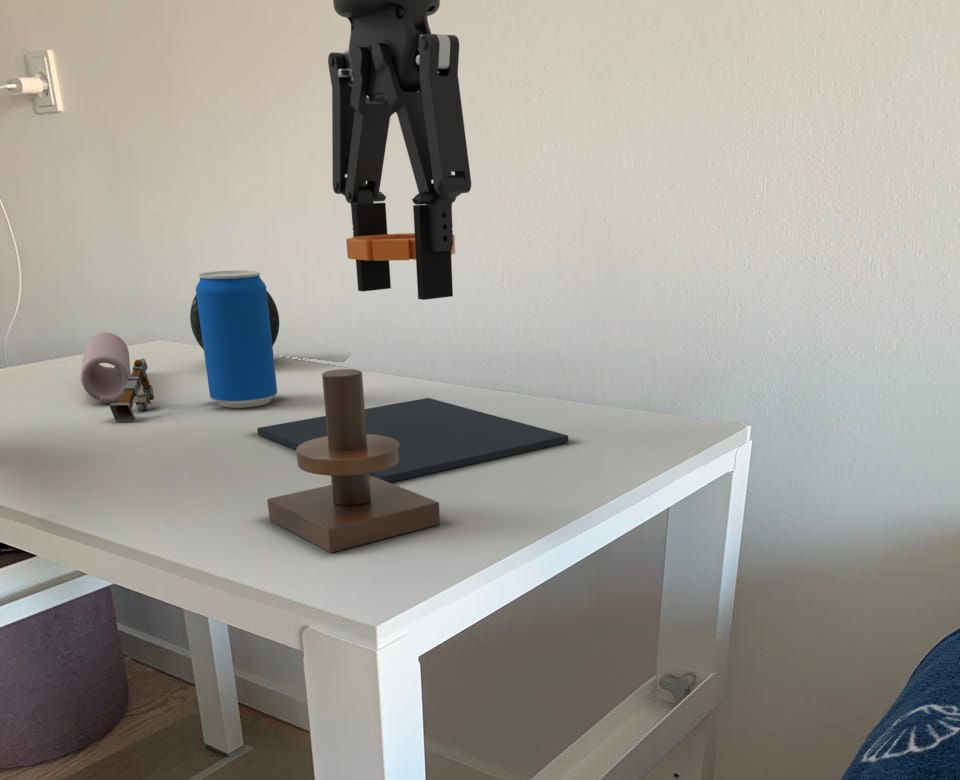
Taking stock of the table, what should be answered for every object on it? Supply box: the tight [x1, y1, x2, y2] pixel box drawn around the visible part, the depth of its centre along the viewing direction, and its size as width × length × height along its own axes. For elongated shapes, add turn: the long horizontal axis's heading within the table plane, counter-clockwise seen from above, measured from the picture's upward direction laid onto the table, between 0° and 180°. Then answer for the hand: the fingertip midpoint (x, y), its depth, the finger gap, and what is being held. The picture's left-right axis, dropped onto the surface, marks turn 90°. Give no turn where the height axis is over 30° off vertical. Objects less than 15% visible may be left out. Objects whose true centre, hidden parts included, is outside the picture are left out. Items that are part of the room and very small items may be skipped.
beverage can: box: [195, 269, 278, 409], centre depth 96 cm, size 6×6×12 cm
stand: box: [267, 368, 441, 554], centre depth 62 cm, size 8×8×10 cm
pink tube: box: [80, 331, 132, 405], centre depth 106 cm, size 5×5×18 cm
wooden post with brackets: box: [108, 358, 155, 422], centre depth 95 cm, size 2×8×4 cm, turn 177°
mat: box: [256, 397, 569, 484], centre depth 84 cm, size 20×18×1 cm
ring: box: [345, 232, 456, 262], centre depth 78 cm, size 8×8×1 cm
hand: (403, 293), depth 79 cm, fingers closed on ring, 8 cm apart
